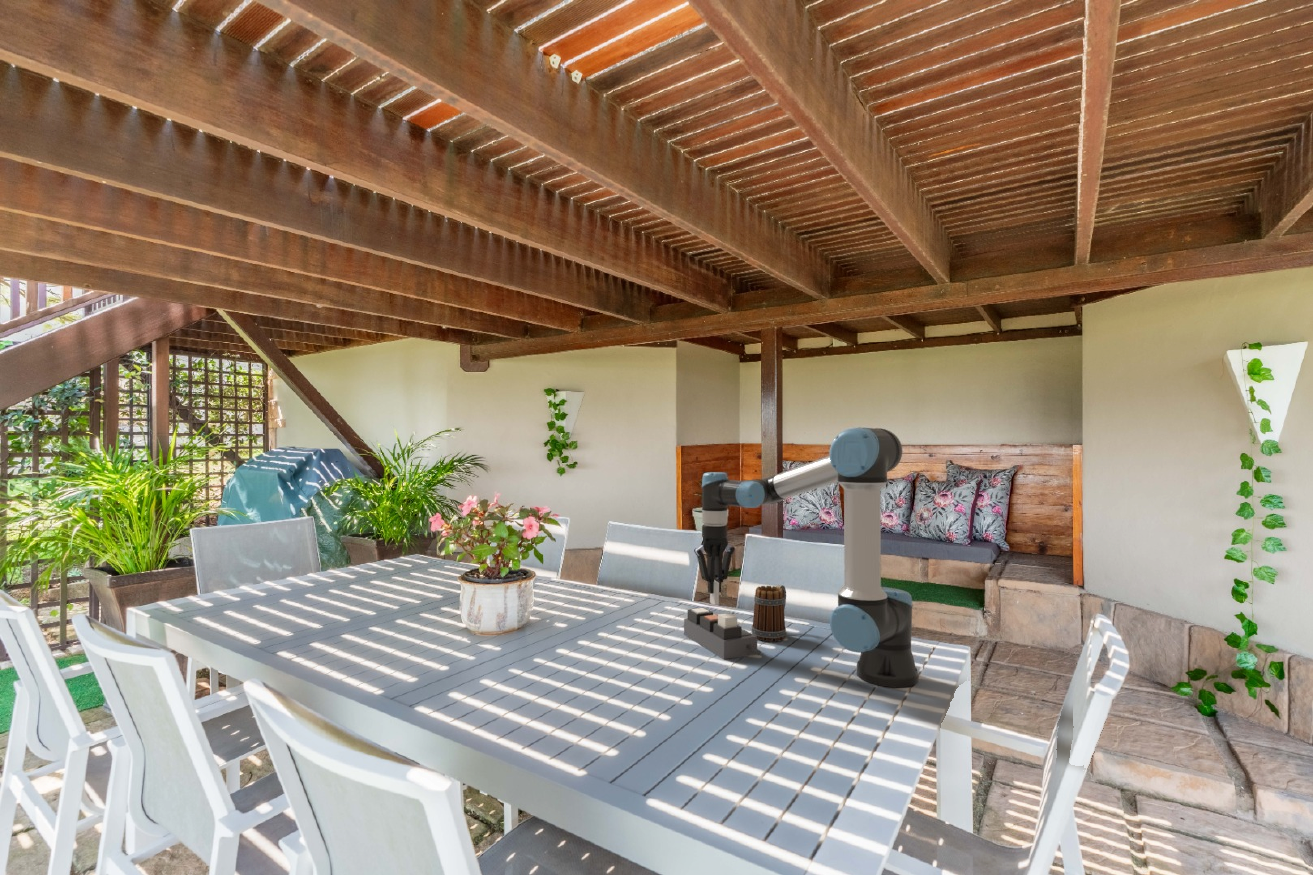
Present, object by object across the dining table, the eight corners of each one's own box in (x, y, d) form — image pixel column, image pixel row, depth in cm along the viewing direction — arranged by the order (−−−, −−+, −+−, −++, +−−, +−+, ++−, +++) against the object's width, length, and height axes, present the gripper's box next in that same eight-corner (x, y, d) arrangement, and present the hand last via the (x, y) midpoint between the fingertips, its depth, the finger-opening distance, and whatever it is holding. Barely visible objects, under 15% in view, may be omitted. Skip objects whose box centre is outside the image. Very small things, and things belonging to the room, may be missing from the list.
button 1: (737, 627, 186) (737, 616, 186) (725, 628, 184) (725, 618, 184) (729, 623, 190) (729, 613, 189) (717, 624, 188) (718, 614, 188)
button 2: (722, 628, 193) (722, 617, 193) (710, 629, 191) (710, 619, 191) (715, 624, 197) (715, 614, 197) (704, 625, 195) (704, 615, 195)
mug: (776, 644, 195) (777, 594, 195) (745, 637, 201) (745, 589, 201) (798, 632, 207) (799, 585, 207) (768, 626, 214) (769, 580, 214)
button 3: (709, 620, 200) (709, 611, 200) (697, 622, 199) (697, 612, 199) (702, 617, 204) (702, 607, 204) (691, 618, 202) (691, 609, 202)
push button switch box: (768, 660, 182) (768, 631, 181) (734, 665, 177) (734, 636, 177) (714, 630, 208) (714, 605, 208) (683, 634, 204) (684, 609, 203)
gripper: (726, 521, 200) (726, 598, 200) (689, 524, 194) (689, 603, 194) (740, 524, 193) (739, 604, 193) (701, 527, 188) (701, 609, 188)
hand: (714, 603), depth 194 cm, fingers closed
